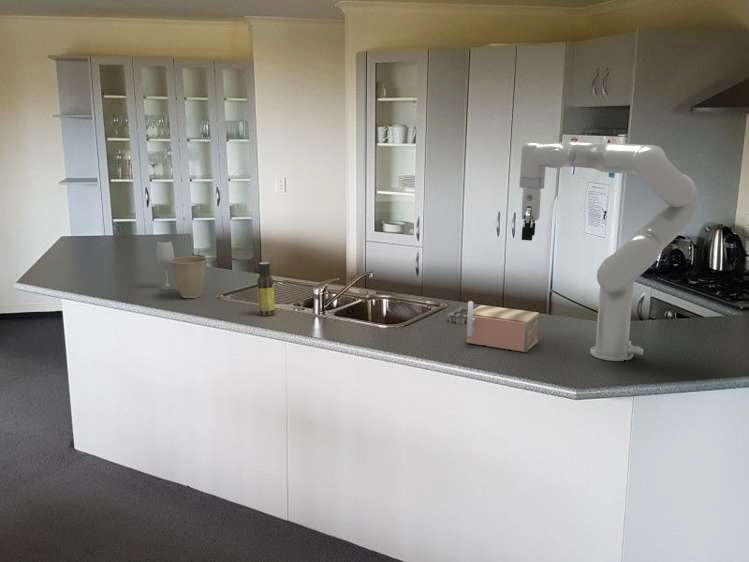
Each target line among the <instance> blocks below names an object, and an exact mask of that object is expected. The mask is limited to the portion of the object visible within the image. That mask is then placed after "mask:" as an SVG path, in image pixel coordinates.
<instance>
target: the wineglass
mask: <svg viewBox="0 0 749 562" xmlns="http://www.w3.org/2000/svg"><path fill="white" fill-rule="evenodd" d="M173 247H174V246H173V243H172V240H158V241H157V242H156V249H155V258H156V261H157V263H158V264H159V265H160V266H161V267H162V268H164V270H165V281H166V284H165V286H170V284H169V277H168V275H169V274H168V268H169V267H170V266H171V263H170V260H172V259H175V251H174V248H173Z"/></svg>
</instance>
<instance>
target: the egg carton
mask: <svg viewBox="0 0 749 562" xmlns="http://www.w3.org/2000/svg"><path fill="white" fill-rule="evenodd" d="M467 315H468V307H467V308H466V307H465V306H464V305H463V306H460V307H458V308H457V310H454V311H453V312H450V313H449V314H446V316H447V318H448V319H447V321H448V320H449V321H448V322H449V323H455V324H456V325H464V324H465V323H467Z"/></svg>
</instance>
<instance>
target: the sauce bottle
mask: <svg viewBox="0 0 749 562" xmlns="http://www.w3.org/2000/svg"><path fill="white" fill-rule="evenodd" d="M270 267H271V263H270V262H269V261H264V262H263V261H262V262H259V263H258V268H259V276H258V278H257V281H256V282H257V288H256V289H257V301H258V303H257V304H258V310H259V311H258V312H259V316H261V315H263V316H262V317H269V316H273V315H275V314H276V298H275V297H276V296H275V285H274V284H275V282H274V279H273V277H272V275H271V270H270Z"/></svg>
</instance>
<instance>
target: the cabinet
mask: <svg viewBox="0 0 749 562" xmlns="http://www.w3.org/2000/svg"><path fill="white" fill-rule="evenodd" d="M473 316H479V317H487V318H494V319H501V320H508V321H515V322H523V323H528V337H527V352H528V351H529V350H530V349H532V347H534V346H535V345H536V344H537V343H538V340H539V339H538V338H539V318H540V317H539V316H540V312H538V311H537V312H536V311H529V310H523V309H514V308H507V307H500V306H491V305H483V304H481V305H479V306H478V307H475V308H473Z"/></svg>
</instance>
